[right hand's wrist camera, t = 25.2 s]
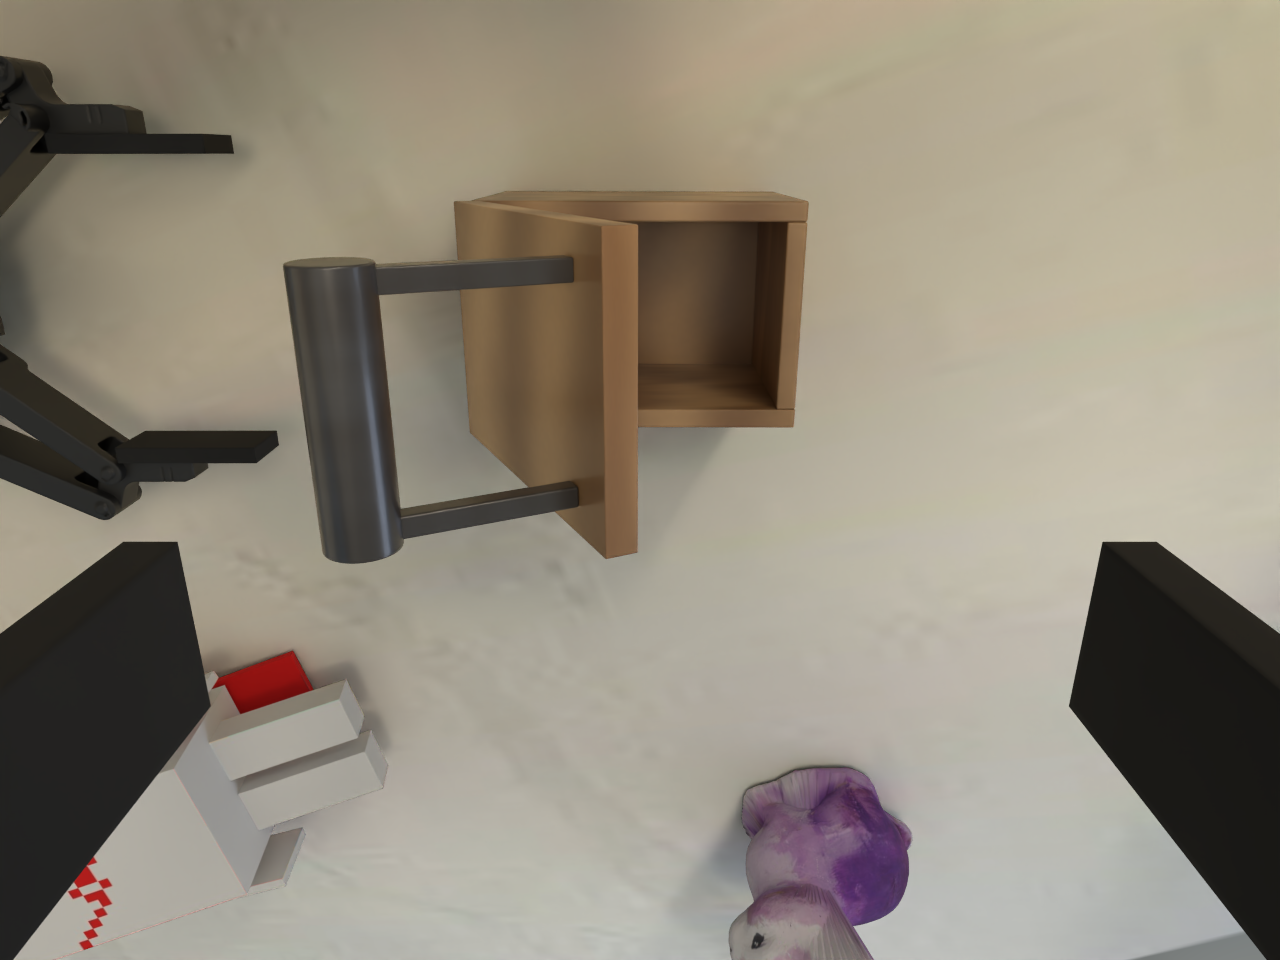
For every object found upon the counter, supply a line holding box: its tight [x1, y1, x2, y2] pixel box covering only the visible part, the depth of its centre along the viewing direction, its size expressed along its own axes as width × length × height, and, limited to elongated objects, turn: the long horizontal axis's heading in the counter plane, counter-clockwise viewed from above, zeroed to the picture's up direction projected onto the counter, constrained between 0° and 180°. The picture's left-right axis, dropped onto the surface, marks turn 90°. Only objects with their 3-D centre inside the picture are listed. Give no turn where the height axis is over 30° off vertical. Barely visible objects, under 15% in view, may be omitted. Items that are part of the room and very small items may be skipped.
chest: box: [472, 191, 809, 427], centre depth 41 cm, size 14×9×10 cm
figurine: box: [729, 767, 912, 960], centre depth 50 cm, size 9×10×15 cm
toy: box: [13, 651, 388, 960], centre depth 51 cm, size 12×13×30 cm
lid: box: [283, 201, 638, 564], centre depth 28 cm, size 14×9×9 cm
